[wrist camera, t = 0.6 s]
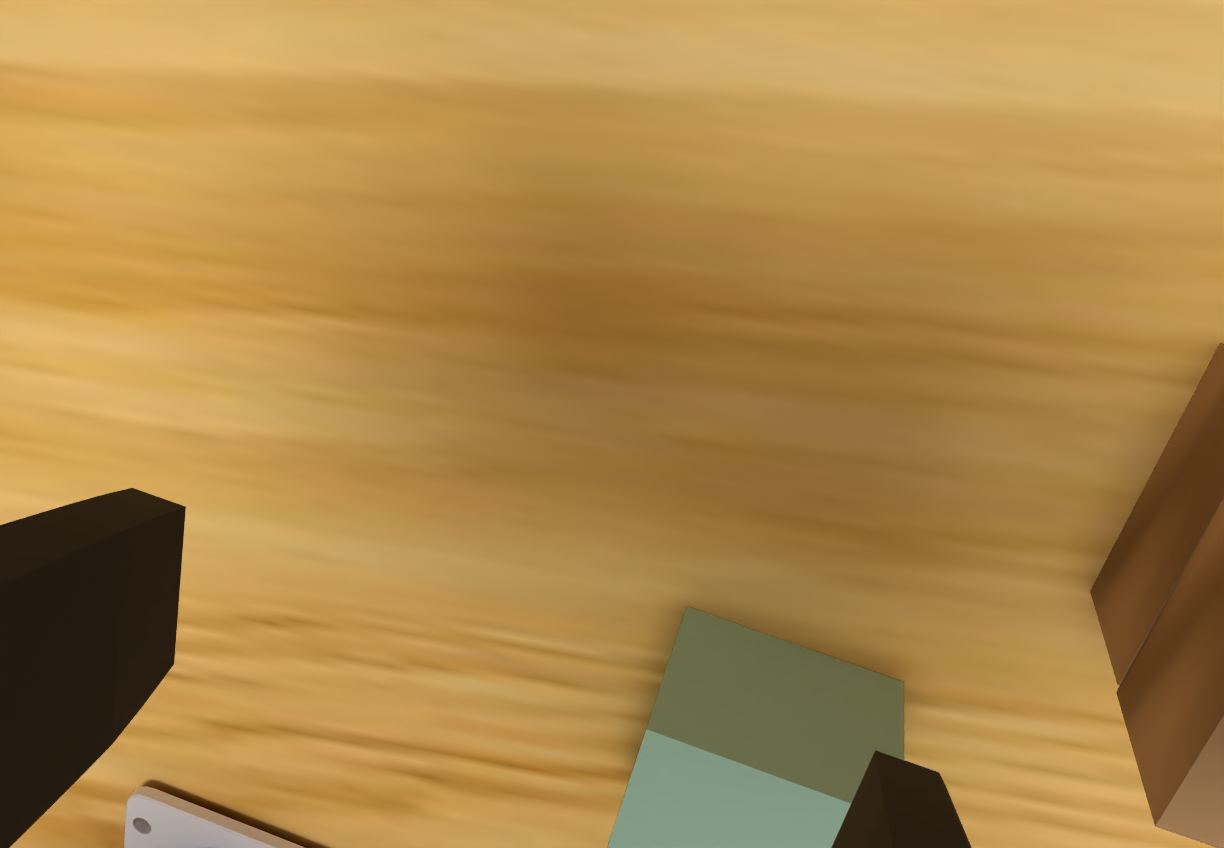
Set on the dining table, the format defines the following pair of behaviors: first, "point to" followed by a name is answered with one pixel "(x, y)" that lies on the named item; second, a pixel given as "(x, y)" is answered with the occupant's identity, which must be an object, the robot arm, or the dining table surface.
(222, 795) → the dining table surface
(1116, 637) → the tower base
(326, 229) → the dining table surface
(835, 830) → the teal block
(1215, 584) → the tower mid
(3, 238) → the dining table surface
